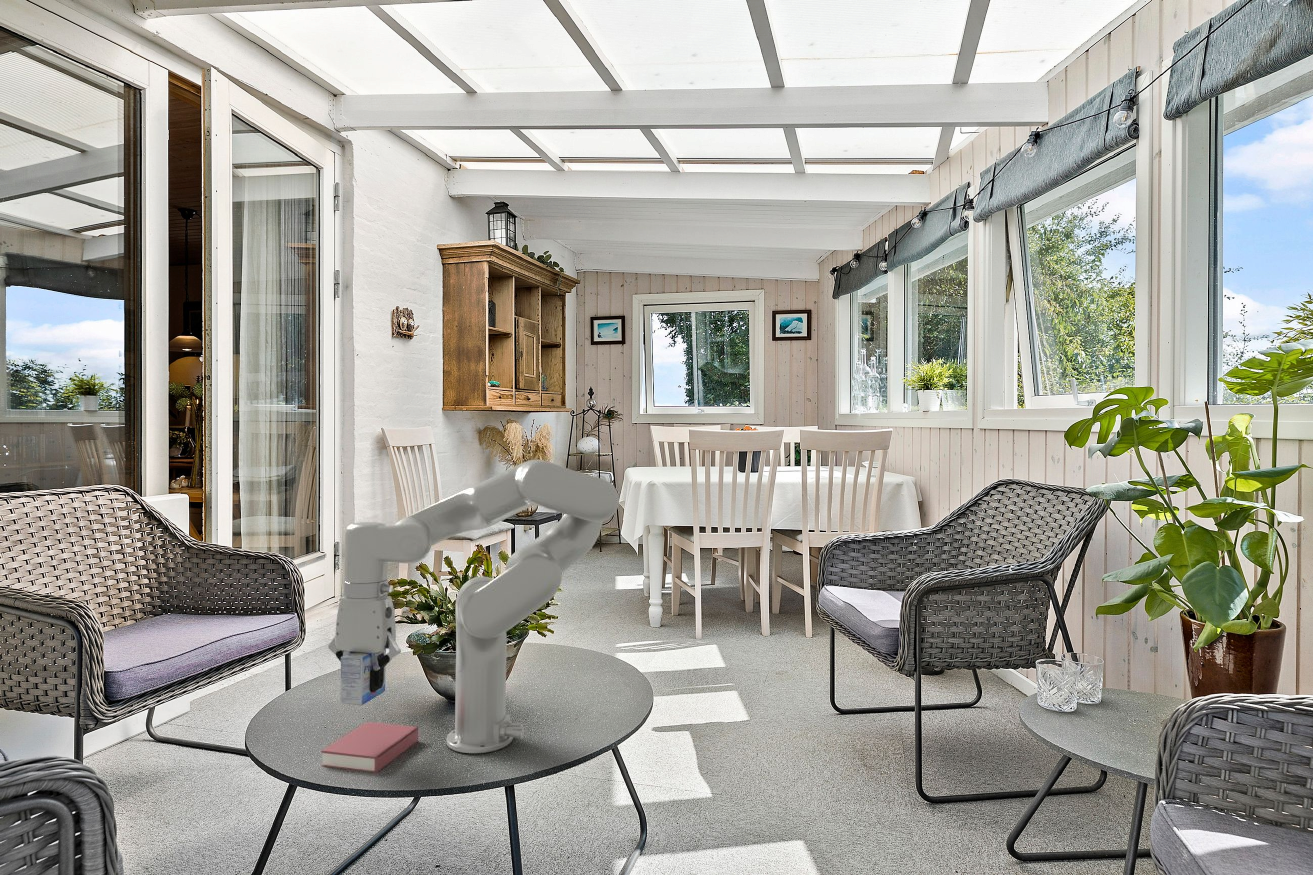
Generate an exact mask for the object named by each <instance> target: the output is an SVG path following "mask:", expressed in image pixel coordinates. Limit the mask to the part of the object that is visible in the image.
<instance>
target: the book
mask: <svg viewBox="0 0 1313 875" xmlns="http://www.w3.org/2000/svg"><path fill="white" fill-rule="evenodd" d="M418 742H419V726H414V725H413V726H412V725H402V724H401V725H400V724H392V723H382V722H373V721H366V722H365V723H363V724H361V725H360V726H359V727H357V728H355V729H353V730H352V731H351V732H348V733H347V734H345V735H344V736H342V737H340V738H339V739H337V740H336V741H334V742H332V743H331V744H330V745H328V746H327V747H325V748H323V749H321V754H322V758H321V759H322V764H321V767H325V766H327V767H326V768H333V769H341V768H343V770H350V769H351V771H358V772H359V771H360V772H366V773H367V772H368V773H373V774H374V773H375V774H376V773H378V772H379V771H381V770H383V769H384V768H385V767H386V766H388V765H389V764H391V762H393V761H394V760H395V759H397V758H398V757H400V756H401V755H402V754H403V753H404V752H406V751H408V749H410V748H412V747H413V746H414V745H416V744H417V743H418Z"/></svg>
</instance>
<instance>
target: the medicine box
mask: <svg viewBox="0 0 1313 875" xmlns="http://www.w3.org/2000/svg"><path fill="white" fill-rule="evenodd" d="M384 649H385V648H384ZM385 654H387V649H385ZM386 667H387V665H386V666H385V667H384V683H383V686H382V688H380V689H379V690H377V691H375V692H370V671H371V670H373V665H372V660H371V655H370V654H368V653H357V652H351V653H349V654H347V655H345V656H342V657H341V662H340V686H339V688H340V691H339V694H340V696H339V697H340V699H339V701H340V704H343V705H353V706H363V705H366V704H367V703H368V702H370V701H371V700H373V699H375V698H377V697H378V696H381V694H383V693H384V692H386V671H387V670H386V669H387V668H386Z"/></svg>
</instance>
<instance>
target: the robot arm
mask: <svg viewBox="0 0 1313 875" xmlns="http://www.w3.org/2000/svg"><path fill="white" fill-rule="evenodd" d="M619 504H620V497H619V494H618V490H617V489H616V487H615V486H614V485H613V484H612V483H611V482H610V481H608V480H607V479H603V478H600V477H597V476H593V475H590V474H586V473H584V472H580V471H578V470H577V471H576V470H573V469H570V468H567V467H564V466H561V465H558V464H555V463H553V462H550V461H546V460H542V459H530V460H526V461H524V462H522V463H520V464H517V465H516V466H513V467H512V468H508V469H507V470H505V471H502V472H501V473H499V474H496V475H494V476H492V477H490V478H488V479H486V480H484V481H482V482H480V483H477V484H475V485H472V486H471V487H469V488H465V489H464V490H462V491H459V492H458V493H456V494H454V495H452V496H450V497H448V498H445V499H442V500H440V501H437V502H436V503H434V504H431V505H429V506H427V507H425V508H423V509H421V510H419V511H416V512H414V513H412V514H409V515H408V516H406V517H403V518H402V519H400V520H398V521H397V522H396V523H395V524H393V525H386V524H385V523H382V522H378V521H377V522H376V521H364V522H363V521H362V522H355V523H351V524H349V525H348V526H347V527H346V529H345V533H344V559H343V560H344V563H343V564H344V567H343V568H344V570H343V571H344V572H343V573H344V574H343V596H341V597H340V600H339V603H338V608H337V613H336V622H335V631H334V632H335V633H334V634H335V635H334V637H333V638H332V640H331V641H330V642H329V644H328V646H327V647H328V648H327V649H329V650H330V651H331V652H332V653H333V654H334V655H335V657H336V659H338V661H339V662H340V663H341V657H342V656H345V655H347V654H349V653H351V652H357V653H368V654H370V655H371V660H372V665H373V670H371V671H370V692H375V691H377V690H379V689H380V688H382V686H383V683H384V667H385V666H386V667H387V665H388V664H389V662H391V661H392V660H393V659H394V658H396V657H397V656H398V655H400V654H401V653H402V649H401V648H400V646H399V644H398V643H397V641H396V640H397V638H396V637H397V632H396V631H397V630H396V618H395V617H396V615H395V609H394V603H393V599H392V596H390V595H388V593H392V592H393V590H394V585H391V584H389V579H388V574H389V572H388V570H389V568H388V567H389V563H395V564H397V563H399V564H408V565H409V564H415V563H419V562H420V561H423V560H424V559H425V558H427V556H428V555H429V553H430V552H431V550H432V547H433V546H435V545H436V544H439V543H441V542H443V541H445V540H447V539H450V538H453V537H454V536H456V535H459V534H462V533H467V532H470V531H479V530H484V529H487V528H491V527H492V526H495V525H497V524H498V523H500V522H502V521H504V520H506V519H508V518H510V517H512V516H514V515H516V514H518V513H520V512H522V511H524V510H525V511H526V510H527V509H529V508H531V507H534V506H539V507H541V508H545V509H547V510H550V511H553V512H557V513H560V514H563V515H562V517H561V518H560V520H559V521H557V523H556V524H554V525H553V526H552V527H551V528H549V529H547V530H546V532H544V533H542V534H541V535H539V536H538V537H536V538H535V539H534V540H532V541H530V542H529V543H528V544H526V545H524V546H523V547H521V548H519V549H517V550H516V551H515V552H514V553H512V555H511V556H510V557H509V558H508V559H507V560H506V564H505V567H504V571H503V572H501V573H500V574H499V575H497V576H496V577H494V578H491V577H488V576H476V577H473V578H471V579H469V580H467V581H466V582H465V583H464V584H463V585H462V586H461V587H460V589H459V591H458V593H457V596H456V599H455V632H456V633H455V635H456V641H455V642H456V645H455V648H456V650H455V654H456V655H455V657H456V658H455V701H454V702H455V704H454V706H455V707H454V708H455V709H454V710H455V711H454V714H455V716H454V729H453V730H451V731H450V732H449V733H448V734H447V736H446V745H447V746H448V748H449V749H451V750H453V751H455V752H458V753H464V754H486V753H491V752H495V751H499V750H500V749H503V748H505V747H507V746H508V745H509V744H511V743H512V741H513V740H514V739H523V738H524V735H525V728H524V723H515V722H512V721H511V714H509V713H506V699H507V698H506V695H507V693H506V692H507V689H506V688H507V651H508V650H507V646H508V645H507V632H508V631H509V630H511V629H513V627H515V626H516V625H518V624H519V623H521V622H522V621H524V620H525V619H526V618H528V617H529V616H531V615H532V614H533V613H535V612H536V611H537V610H539V609H541V608H542V607H543V606H544V605H545V604H547V603H548V602H549V601H550V600H551V599H552V598H553V597H554V596H555V595H556V593H557V592H558V591H559V590H560V589H559V588H560V587H561V585H562V584H561V583H562V579H563V574H562V573H564V572H565V571H566V570H568V569H569V568H570V567H572V566H573V565H574V564H576V563H577V562H578V561H579V560H580V559H582V558H583V557H584V556H585V555H586V554H587V553H588V552H590V550H591V549H592V548H593V546H594V545H595V543H596V542H597V540H598V538H599V536H600V532H601V530H602V527H603V523H604V522H605V521H607V520H609V519H611V518H612V517H613V516H614V515H615V514H616V512H617V510H618V508H619ZM384 648H385V649H386V650H388V652H386V654H385V649H384Z"/></svg>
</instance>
